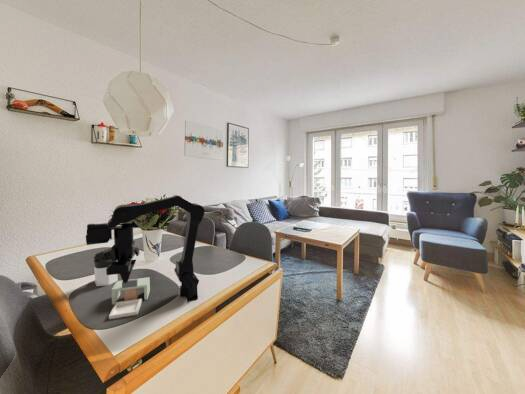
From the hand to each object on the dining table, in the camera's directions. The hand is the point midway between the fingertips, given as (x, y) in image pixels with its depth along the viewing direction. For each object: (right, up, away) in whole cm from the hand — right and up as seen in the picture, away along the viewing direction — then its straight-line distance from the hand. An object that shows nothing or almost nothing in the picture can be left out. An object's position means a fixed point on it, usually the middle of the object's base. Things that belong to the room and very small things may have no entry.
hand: (125, 282), depth 78 cm
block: (-3, -10, +8) cm, 13 cm away
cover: (-3, -10, +9) cm, 14 cm away
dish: (0, -11, +1) cm, 11 cm away
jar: (-23, -10, +22) cm, 33 cm away
